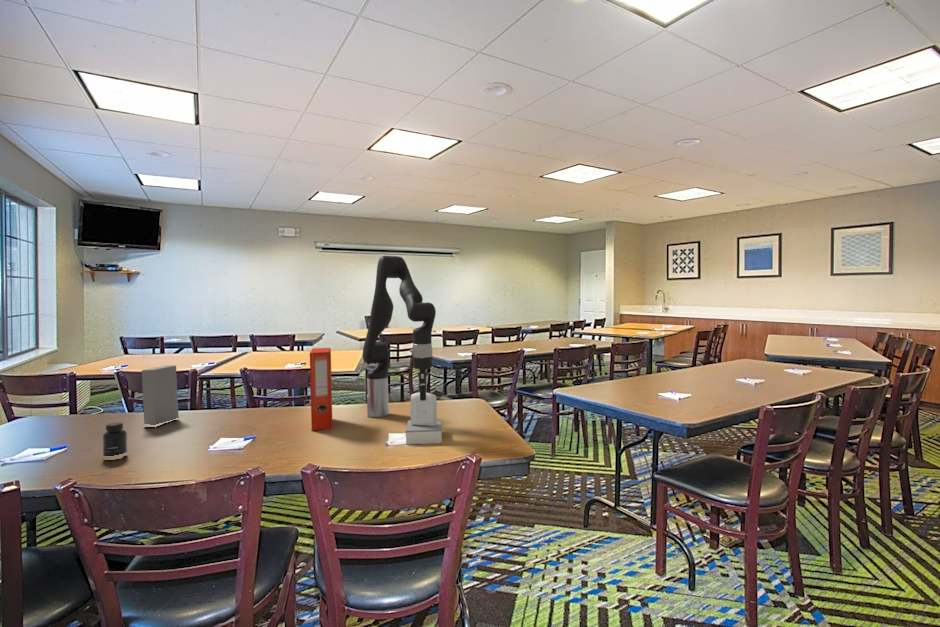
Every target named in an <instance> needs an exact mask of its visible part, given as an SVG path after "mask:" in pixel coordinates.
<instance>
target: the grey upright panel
mask: <svg viewBox="0 0 940 627" xmlns="http://www.w3.org/2000/svg"><path fill="white" fill-rule="evenodd" d="M141 381H142V382H141V383H142V384H141V385H142V406H143V422H144V423H143V425H144V424H150V425H156V424H159V423H163V422H166V421H170V420H173V419H176V418H179V419H180V416H179V401H178V379H177V365H169V364H168V365H162V366H156V367H151V368H147V369H146V368H145V369H142V370H141Z"/></svg>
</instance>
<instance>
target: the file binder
mask: <svg viewBox="0 0 940 627" xmlns="http://www.w3.org/2000/svg"><path fill="white" fill-rule="evenodd" d="M309 370H310V374H309V375H310V376H309V377H310V379H309V380H310V381H309V382H310V383H309V384H310V415H311V416H310V419H311V423H310V424H311V431H313V430H316V431H322V430H321V429H329V430H332V427H333V426H332V425H333V398H332V397H333V395H332V394H333V393H332V390H333V389H332V388H333V387H332V385H333V384H332V348H331V347H318V348H317V347H315V348H312V349H311V350H310V352H309Z"/></svg>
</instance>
